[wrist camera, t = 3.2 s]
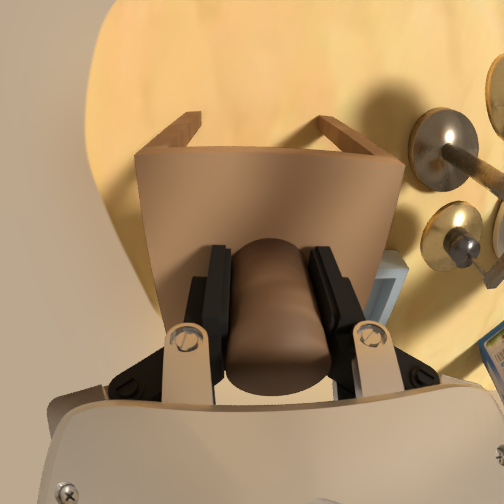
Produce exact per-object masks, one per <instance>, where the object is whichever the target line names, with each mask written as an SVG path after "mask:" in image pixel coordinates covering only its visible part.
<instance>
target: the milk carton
mask: <svg viewBox="0 0 504 504" xmlns="http://www.w3.org/2000/svg"><path fill="white" fill-rule="evenodd" d="M478 345H479V349H480V352H481V356H482V361H483V363H484V365H485V367H486V369H487V371H488V373H489V375H490V377H491V379H492V381H493V383H494V385H495V387H496V389H497V391H498V393H499V395H500V397H501V400H502V402H503V404H504V321H503V322H501V323H500V324H499V325H498V326H496V327H495V328H494V329H493V330H491V331H490V332H489V333H488V334H486V335H485V336H484V337H482V338H481V339H480V340H478Z"/></svg>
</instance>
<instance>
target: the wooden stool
mask: <svg viewBox="0 0 504 504" xmlns="http://www.w3.org/2000/svg"><path fill="white" fill-rule="evenodd" d="M200 126H201V111H199V112H186V113H185V114H183V115H182V116H181V117H180V118H178V119H177V120H176V121H174V122H173V123H172V124H171V125H169V126H168V127H167V128H166V129H164V130H163V131H162V132H161V133H160V134H158V135H157V136H156V137H155V138H154V139H152V140H151V141H150V142H149V143H148V144H147V145H145V146H144V147H143V148H142V149H141V150H140V151H139V152H137V153H136V154H135V155H134V157H135V166H136V175H137V183H138V190H139V198H140V205H141V211H142V218H143V224H144V230H145V236H146V242H147V248H148V253H149V258H150V264H151V269H152V274H153V278H154V283H155V288H156V293H157V297H158V301H159V306H160V310H161V314H162V319H163V322H164V327H165V331H166V334H167V333H168V331H169V330H170V329H171V328H172V327H174V326H176V325H178V324H182V323H183V322H184V316H185V311H186V306H187V300H188V295H189V290H190V285H191V280H192V277H193V276H200V277H208V270H209V263H210V256H211V249H212V245H226V248H231V284H230V307H229V331H228V343H227V351H226V375H227V378H228V379H229V381H230V382H231V383H232V384H233V385H234V386H236V387H237V388H239V389H241V390H243V391H245V392H248V393H251V394H255V395H261V396H282V395H289V394H293V393H297V392H300V391H303V390H305V389H308V388H310V387H312V386H314V385H315V384H317V383H318V382H320V381H321V380H322V379H323V378H324V377H325V376H326V375H327V373H328V372H329V370H330V368H331V356H330V352H329V348H328V344H327V340H326V336H325V332H324V328H323V324H322V320H321V316H320V312H319V308H318V305H317V301H316V297H315V293H314V290H313V286H312V282H311V279H310V275H309V271H308V263H309V257H310V251H311V250H312V249H315V247H316V246H330V248H331V250H332V253H333V255H334V257H335V260H336V262H337V265H338V267H339V270H340V272H341V275H342V277H348V278H349V279H350V281H351V284H352V286H353V289H354V291H355V294H356V296H357V298H358V301H359V303H360V306H361V308H362V311H363V312H364V309H365V306H366V304H367V301H368V298H369V295H370V292H371V289H372V286H373V283H374V280H375V277H376V274H377V271H378V268H379V265H380V262H381V259H382V255H383V252H384V249H385V245H386V242H387V238H388V235H389V231H390V228H391V224H392V220H393V217H394V213H395V209H396V205H397V201H398V197H399V192H400V188H401V184H402V179H403V175H404V170H405V164H403V163H402V162H400V161H399V160H398V159H396V158H395V157H394V156H392V155H391V154H389V153H388V152H386V151H385V150H384V149H382V148H381V147H379V146H378V145H376V144H375V143H373V142H372V141H370V140H369V139H367V138H366V137H364V136H363V135H361V134H360V133H358V132H356V131H355V130H353V129H352V128H350V127H348V126H347V125H345V124H344V123H342V122H340V121H339V120H337V119H335V118H334V117H329V116H320V115H319V118H318V128H317V129H318V130H319V131H320V132H321V133H323V134H324V135H325V136H326V137H327V138H328V139H329V140H331V141H332V142H333V143H334V144H335V145H336V146H337V147H338V148H339V149H340V150H342V151H343V152H336V151H325V150H312V149H296V148H277V147H241V146H208V147H186V146H187V144H188V143H189V142H190V140H191V139H192V137H193V136H194V135H195V133H196V132H197V131H198V129H199V128H200Z"/></svg>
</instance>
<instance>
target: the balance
mask: <svg viewBox="0 0 504 504" xmlns="http://www.w3.org/2000/svg"><path fill="white" fill-rule="evenodd" d="M485 99H486V107H487V112H488V116H489V119H490V122H491V125H492V127H493V129H494V130H495V132H496V133H497V135H498V136H499V137H500V138H501V139H502V140H503V141H504V54H501V55H499V56H498V57H497V58H496V59H495V60H494V61H493V63H492V64H491V66H490V68H489V71H488V75H487V79H486V87H485ZM478 151H479V144H478V137H477V133H476V131H475V128H474V126H473V124H472V123H471V121H470V120H469V119H468V118H467V117H466V116H465V115H463V114H462V113H460V112H457V111H455V110H452V109H449V108H442V107H441V108H435V109H432V110H430V111H428V112H426V113H425V114H424V115H422V116H421V117H420V118H419V120H418V121H417V122H416V124H415V125H414V127H413V129H412V132H411V135H410V138H409V143H408V158H409V163H410V166H411V168H412V170H413V172H414V174H415V175H416V177H417V178H418V179H419V180H420V181H421V182H423V183H424V184H425V185H426V186H427V187H429V188H431V189H433V190H435V191H439V192H447V191H451V190H454V189H456V188H458V187H459V186H461V185H462V184H463V183H464V182H465V181H466V180H467V179H468V178H469V177H471V178H472V179H474V180H475V181H476V182H478V183H479V184H481V185H482V186H483V187H485V188H486V189H487V190H489V191H490V192H491V193H493V194H494V195H495V196H497V197H498V198H499V199H501V200H502V201H503V202H504V173H502V172H501V171H499V170H497V169H496V168H494V167H493V166H491V165H489V164H488V163H486V162H484V161H483V160H481V159H479V158H478ZM482 225H483V224H482V218H481V215H480V213H479V212H478V210H477V209H476V208H475V207H473V206H472V205H471V204H470V203H468V202H465V201H454V202H451V203H449V204H447V205H445V206H443V207H442V208H440V209H439V210H438V211H437V212H436V213H435V214H434V215H433V216H432V217H431V219H430V220H429V221H428V223H427V225H426V227H425V229H424V231H423V234H422V237H421V242H420V250H421V255H422V257H423V259H424V260H425V262H426V263H427V264H428V266H429V267H430V268H432V269H434V270H437V271H447V270H451V269H454V268H456V267H457V266H458V267H459V268H465V267H468V266H470V265H471V264H472V263H473V264H474V265H475V266H476V267H477V269H478V270H479V271H480V272H481V273H482V275H483V276H484V278H483V281H484V283H485V285H486V288H487V289H493V288H496V287H497V286H498V285H499V284H500V283H501V282H502V281H503V280H504V253H503V254H502V255H501V257H500V258H499V259H498V261H497V262H496V263H495V265H494V266H493V267H492V268H491V270H490V271H489V272H488V273H486V272H485V271H484V269H483V268H482V267H481V266H480V265H479V263H478V262H477V261H476V258H477V257H478V255H479V252H480V244H479V241H480V238H481V234H482Z"/></svg>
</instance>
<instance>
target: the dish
mask: <svg viewBox="0 0 504 504" xmlns="http://www.w3.org/2000/svg"><path fill="white" fill-rule="evenodd" d="M408 271H409V267H408V266H407V264H406V263H405V261H404V260H403V258H402V257H401V255H400V254H399V252H398V251H397V250H384V252H383V255H382V259H381V262H380V265H379V268H378V271H377V274H376V277H375V280H374V283H373V286H372V289H371V292H370V295H369V298H368V301H367V304H366V306H365V309H364V312H363V314H364V316H365V319H366V321H368V320H369V321H375V322H378V323H380V324H382V325H383V326H386V323H387V321H388V319H389V317H390V315H391V312H392V310H393V308H394V305H395V303H396V301H397V298H398V296H399V293H400V291H401V289H402V286H403V283H404V281H405V278H406V276H407V273H408Z"/></svg>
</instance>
